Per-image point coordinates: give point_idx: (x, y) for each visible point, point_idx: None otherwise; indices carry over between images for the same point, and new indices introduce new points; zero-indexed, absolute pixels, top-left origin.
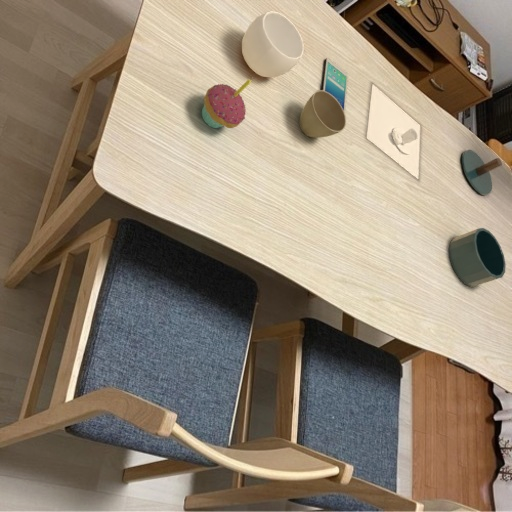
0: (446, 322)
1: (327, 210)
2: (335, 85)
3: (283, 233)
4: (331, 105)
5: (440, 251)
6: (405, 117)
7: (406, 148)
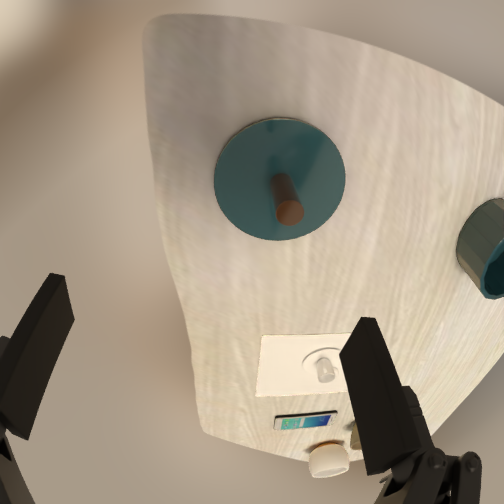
0: None
1: (432, 394)
2: (304, 422)
3: (446, 404)
4: (354, 437)
5: (473, 285)
6: (269, 358)
7: (333, 355)
